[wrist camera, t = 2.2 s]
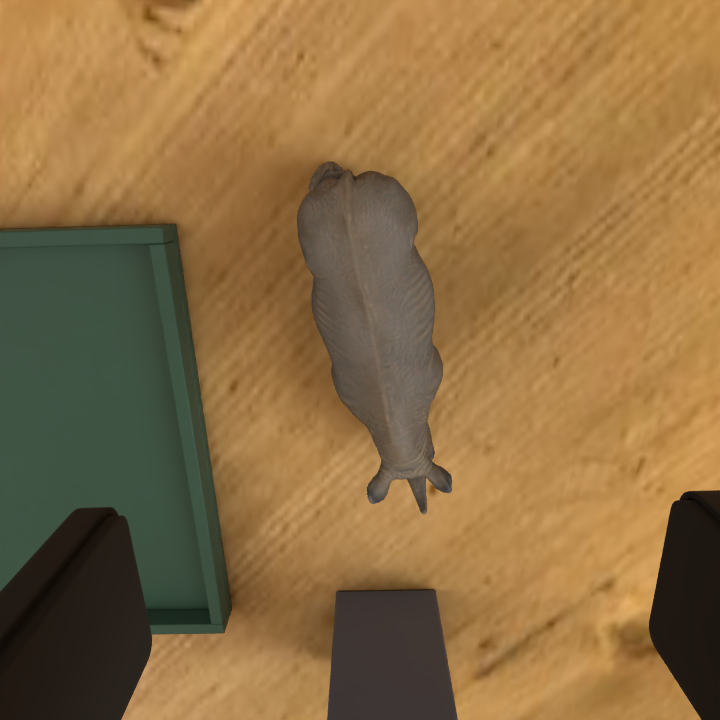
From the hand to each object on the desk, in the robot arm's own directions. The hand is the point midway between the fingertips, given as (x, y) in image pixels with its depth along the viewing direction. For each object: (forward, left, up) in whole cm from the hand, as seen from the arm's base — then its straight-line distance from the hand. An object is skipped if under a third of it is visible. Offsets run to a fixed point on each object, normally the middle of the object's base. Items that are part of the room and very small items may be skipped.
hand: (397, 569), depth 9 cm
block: (+15, 0, -13) cm, 20 cm away
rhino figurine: (-1, 0, -13) cm, 13 cm away
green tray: (+4, -15, -13) cm, 21 cm away
